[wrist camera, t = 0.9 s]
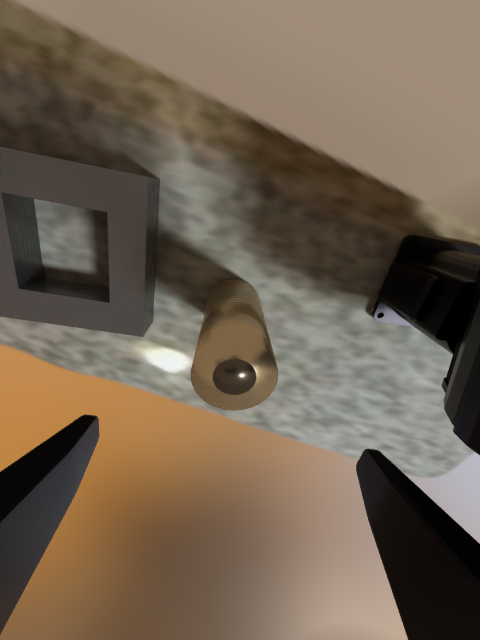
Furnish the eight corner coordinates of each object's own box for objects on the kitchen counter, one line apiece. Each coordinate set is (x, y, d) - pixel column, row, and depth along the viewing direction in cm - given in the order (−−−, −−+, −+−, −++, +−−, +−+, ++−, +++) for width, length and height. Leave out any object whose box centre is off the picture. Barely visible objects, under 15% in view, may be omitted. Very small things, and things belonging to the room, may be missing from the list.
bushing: (264, 283, 20) (288, 347, 11) (253, 330, 21) (267, 415, 13) (211, 274, 19) (195, 333, 11) (204, 323, 21) (186, 405, 13)
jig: (159, 179, 16) (148, 176, 14) (152, 321, 21) (143, 336, 18) (-13, 144, 15) (-55, 135, 13) (16, 300, 20) (-12, 314, 17)
